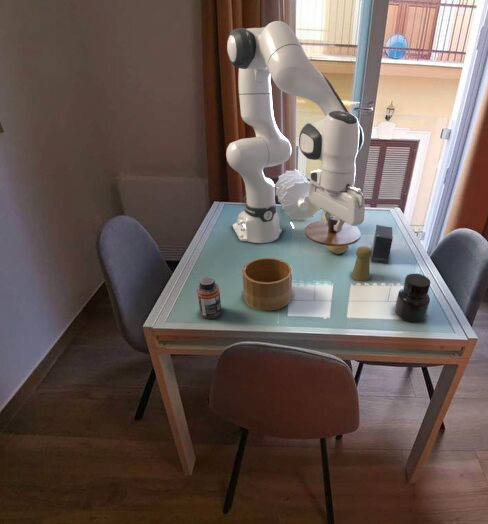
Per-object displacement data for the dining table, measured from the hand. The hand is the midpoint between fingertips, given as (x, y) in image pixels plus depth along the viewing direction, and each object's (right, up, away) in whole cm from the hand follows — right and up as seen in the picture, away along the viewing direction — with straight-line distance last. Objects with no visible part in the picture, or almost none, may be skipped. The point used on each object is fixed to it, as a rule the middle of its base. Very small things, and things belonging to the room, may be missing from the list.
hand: (333, 228), depth 100 cm
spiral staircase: (-11, +14, +69) cm, 72 cm away
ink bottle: (+23, -25, +6) cm, 35 cm away
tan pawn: (+11, -15, +23) cm, 29 cm away
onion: (+5, -6, +38) cm, 38 cm away
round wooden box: (-19, -20, +11) cm, 30 cm away
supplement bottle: (-35, -24, +3) cm, 43 cm away
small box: (+21, -7, +36) cm, 42 cm away
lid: (0, -1, +1) cm, 2 cm away
